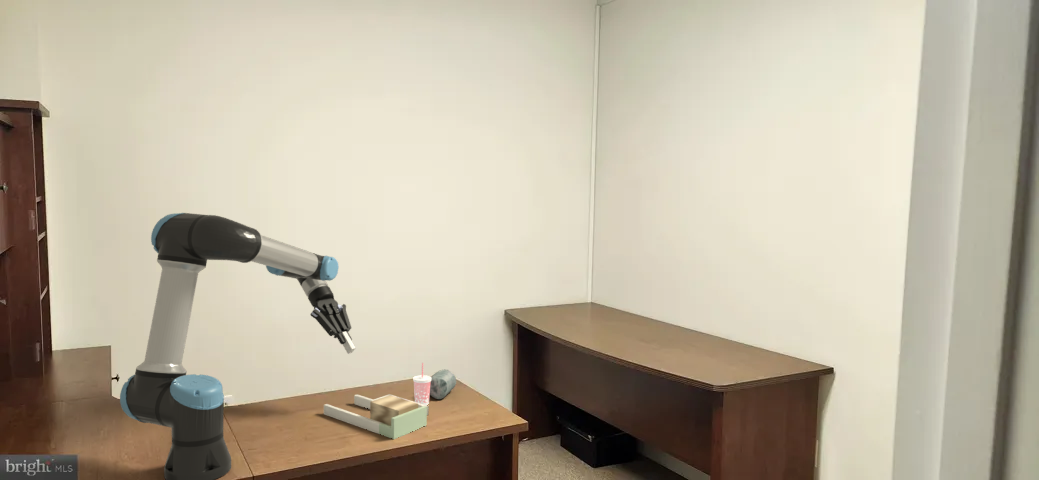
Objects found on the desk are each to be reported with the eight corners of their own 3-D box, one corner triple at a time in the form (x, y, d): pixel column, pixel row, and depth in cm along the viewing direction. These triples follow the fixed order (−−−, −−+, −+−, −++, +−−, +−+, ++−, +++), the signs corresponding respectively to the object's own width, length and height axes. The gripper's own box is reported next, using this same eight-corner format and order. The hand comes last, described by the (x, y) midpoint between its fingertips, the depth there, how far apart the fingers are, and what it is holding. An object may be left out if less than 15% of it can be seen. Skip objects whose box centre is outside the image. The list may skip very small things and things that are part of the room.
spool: (449, 394, 222) (440, 365, 225) (425, 404, 225) (416, 375, 227) (466, 392, 235) (457, 365, 238) (443, 401, 237) (434, 374, 240)
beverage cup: (433, 406, 219) (433, 364, 218) (414, 408, 217) (415, 366, 216) (428, 400, 225) (429, 359, 224) (410, 402, 223) (411, 361, 222)
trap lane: (323, 414, 209) (323, 395, 209) (373, 397, 226) (373, 380, 225) (393, 439, 191) (394, 418, 191) (442, 419, 208) (442, 400, 207)
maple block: (370, 425, 201) (370, 401, 201) (389, 418, 208) (390, 395, 207) (398, 435, 194) (398, 410, 194) (417, 428, 201) (418, 403, 200)
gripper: (329, 296, 225) (362, 353, 217) (296, 301, 215) (329, 361, 207) (339, 282, 222) (373, 340, 214) (306, 286, 211) (340, 348, 203)
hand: (351, 350), depth 210 cm, fingers closed
